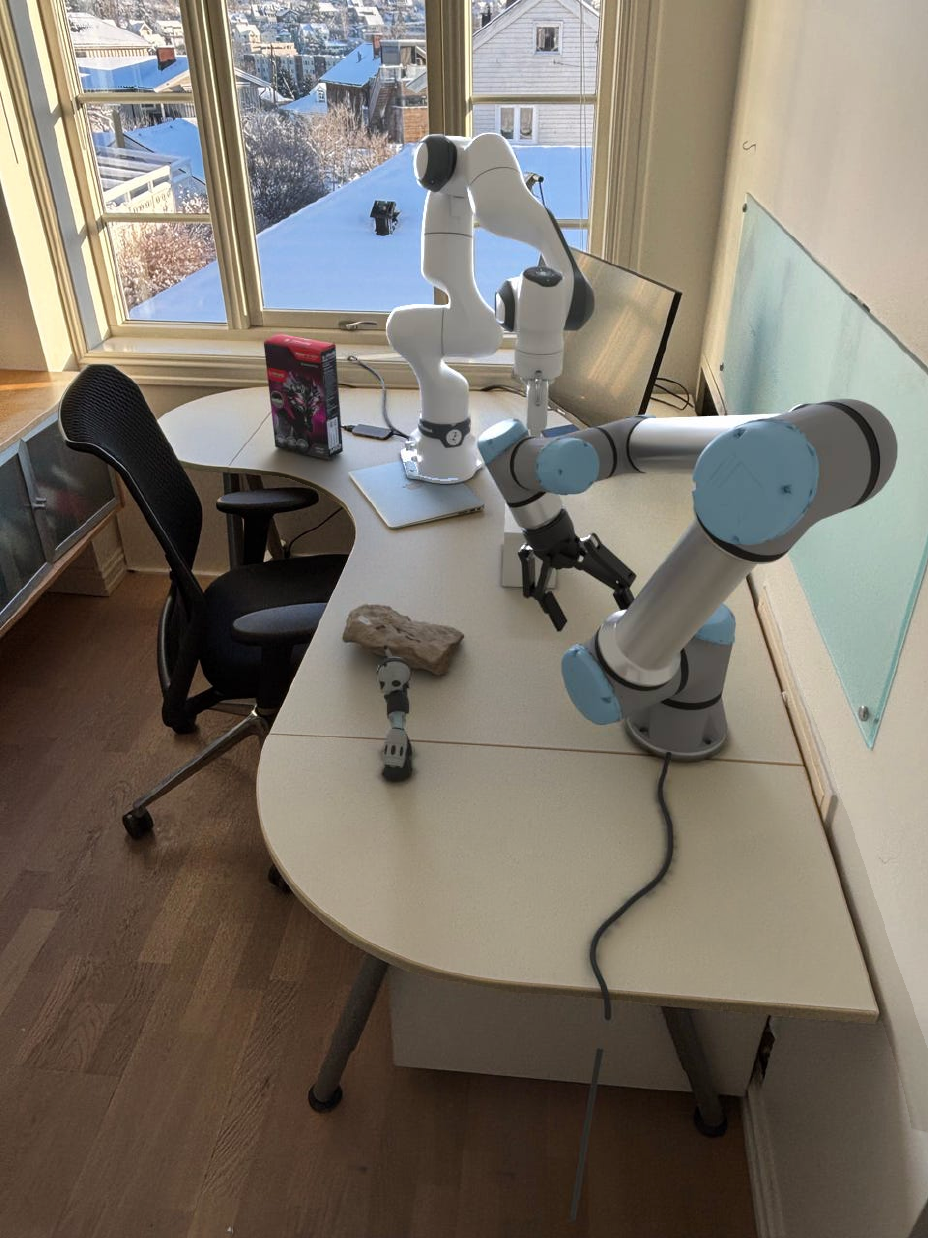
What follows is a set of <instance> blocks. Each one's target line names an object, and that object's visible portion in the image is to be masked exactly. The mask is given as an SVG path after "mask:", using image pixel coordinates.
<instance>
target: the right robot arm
mask: <svg viewBox="0 0 928 1238" xmlns="http://www.w3.org/2000/svg"><path fill="white" fill-rule="evenodd" d="M898 446H899V445H898V440H897V435H896V432H895V430H894V428H893V425H892V424H891V422H890V420H889V419H888V418H887V416H885V414H884V413H882V411H881V410H880V409H878V408H877V407H875V406H873V405H871V404H870V403H868V402H865V401H863V400H859V399H852V398H835V399H829V400H825V401H822V402H814V403H812V402H811V403H801V404H798V405H795V406H793V407H792V408H791V409H789V411H787V412H784V413H767V414H766V413H763V414H761V413H760V414H740V415H739V414H737V415H710V416H709V415H707V416H689V417H688V416H685V417H684V416H683V417H656V416H655V415H653V414H650V413H649V414H647V413H645V414H638V415H637V414H636V415H631V416H626V417H625V418H623V419H619V420H615V421H612V422H607V423H605V424H601V425H598V426H593V427H589V428H584V429H581V430H576V431H573V432H569V433H564V434H561V435H557V436H551V437H540V438H538V437H530V432H529V430H528V429H527V427H526V426H525V425H524V423H523V422H522V421H521V420H520V419H518V418H508V419H504V420H502V421H499V422H498V423H495V424H494V425H492V426H491V427H489V428H487V429H486V430H485V431H484V432H483V433H481V435H480V436H479V438H478V440H477V441H476V448H477V449H478V452H479V454H480V456H481V459H482V460H483V465H484V466H485V468H486V469H487V471H488V473H489V474H490V476H491V478H492V480H493V482H494V484H495V485H496V487H497V489H498V490H499V493H500V494H501V496H502V498H503V500H504V501H506V503H507V505H508V507H509V509H510V511H511V513H512V515H513V517H514V519H515V521H516V523H517V525H518V526H519V527H521V532H522V534H523V536H524V537H525V539H526V541H527V543H525V544H524V545H523V546H522V548H521V549H520V550H519V552H518V556H519V558H520V561H521V563H522V585H523V587H522V596H523V598H525V599H530V598H532V599H534V601H537V603H538V604H539V606H540V609H541V610H542V612H543V613H544V614H545V615H548V617H549V619H550V621H551V624H552V625H553V627H554V628H555V630H556V633H557V632H558V633H559V632H562V631H563V629H564V628H565V627H566V625H567V623H568V618H567V616H566V615H565V613H564V611H563V610H562V608H561V606H560V604H559V601H558V600H557V598H556V597H555V594H554V592H553V590H548V589H549V588H548V587H547V586H548V583H549V580H550V577H551V573H552V570H553V568H555V569H556V571H561V570H563V569H567V570H568V569H573V568H574V569H576V570H578V571H579V572H580V571H583V572H584V573H585V574H587V575H589V576H591V577H593V578H594V579H596V580H597V581H598V582H601V584H603V585H605V586H607V587H608V588H609V589H612V590H613V593H612V597H613V599H614V601H615V603H616V605H617V606H618V609H619V610H618V611H616V612H613V613H612V614H611V615H609V616H608V617H606V619H605V620H604V621H603V622H602V623H601V625H600V626H599V628H598V629H597V630H596V631H595V633H594V635H593V636H592V637H591V638H589V639H588V640H586V641H584V642H582V643H575V644H574V645H573V646H572V647H570V648H568V649H567V650H565V652H564V653H563V655H562V658H561V664H560V665H561V666H560V667H561V668H560V669H561V676H562V679H563V683H564V687H565V689H566V692H567V694H568V696H569V698H570V700H571V702H572V704H573V705H574V707H575V708H576V709H577V711H578V712H579V713H580V714H581V715H582V716H583V718H585V719H586V720H587V721H590V722H591V723H592V724H595V725H596V726H608V725H612V724H614V723H620V722H622V720H623V719H625V728H626V732H627V734H628V736H629V738H630V739H631V741H632V742H634V744H636V745H637V746H638V747H639V748H640V749H641V750H643V751H645V752H646V753H648V754H650V755H651V756H654V757H656V758H659V759H662V760H664V761H663V765H662V771H661V773H660V777H659V781H658V784H657V796H658V797H657V798H658V802H659V806H660V808H661V811H662V813H663V816H664V819H665V822H666V829H667V852H666V857H665V860H664V863H663V865H662V867H661V869H660V871H659V873H658V874H657V875H656V876H655V877H654V878H653V879H652V880H651V881H650V882H649V883H648V884H646V885H645V886H644V887H642V888H641V889H639V890H638V891H637V892H636V893H634V894H633V895H632V896H630V898H628V900H626V901H625V903H623V904H622V905H621V906H620V907H619V908H618V909H617V910H616V911H615V912H614V913H612V914H611V915H610V916H609V917H608V918H607V919H606V920H605V921H604V922H603V923H602V924H601V925H600V926H599V928H598V929H597V930H596V931H595V933H594V936H593V937H592V940H591V943H590V947H589V962H590V966H591V969H592V971H593V973H594V976H595V979H596V980H597V982H598V984H599V987H600V989H601V992H602V997H603V1004H604V1005H603V1006H604V1019H605V1020H606V1021H611V1019H612V1001H611V995H610V992H609V988H608V985H607V983H606V981H605V978H604V976H603V974H602V973H601V969H600V967H599V964H598V963H597V962H598V961H597V956H596V955H597V954H596V952H597V946H598V943H599V941H600V939H601V937H602V935H603V934H604V933H605V932H606V930H607V929H608V928H609V927H610V926H612V924H613V923H615V921H617V920H618V919H619V918H620V917H621V916H622V915H623V914H625V912H626V911H627V910H628V909H630V907H631V906H632V905H633V904H634V903H635V902H637V901H638V900H639V899H640V898H642V897H644V896H645V895H646V894H647V893H649V892H650V891H651V890H652V889H654V888H655V887H656V886H657V885H658V884H659V883H660V882H661V881H662V880H663V878H664V877H665V875H666V874H667V872H668V870H669V868H670V865H671V864H672V863H671V862H672V859H673V854H674V827H673V821H672V818H671V814H670V812H669V810H668V807H667V804H666V801H665V796H664V783H665V780H666V778H667V773H668V769H669V765H670V762H675V763H694V762H700V761H703V760H706V759H709V758H711V757H714V755H716V754H718V752H720V751H721V750H722V748H723V747H724V744H725V743H726V740H727V739H726V738H727V734H728V728H729V727H728V721H727V716H726V712H725V708H724V707H725V706H724V701H723V692H724V686H725V682H726V678H727V672H728V668H729V664H730V659H731V654H732V651H733V650H732V649H733V645H734V643H735V642H736V635H735V634H736V627H737V626H736V625H737V622H736V617H735V615H734V613H733V611H732V610H731V609H730V608H729V607H728V606H727V605H726V604H724V603H725V602H726V600H727V599H728V598H729V597H730V596H731V595H732V594H733V592H735V590H736V589H737V588H738V587H739V585H740V584H741V583H742V582H743V581H744V580H745V579H746V578H747V577H748V575H749V574H750V573H751V572H752V571H753V570H754V568H756V567H757V566H758V565H766V564H771V563H775V562H777V561H779V560H780V559H782V558H783V557H785V555H787V553H788V552H789V551H790V550H791V549H792V548H793V547H794V546H795V545H796V544H797V543H798V541H799V540H800V539H801V538H803V536H804V535H805V534H806V533H807V532H808V531H809V529H811V528H812V527H813V526H814V525H815V524H817V523H818V522H820V521H822V520H824V519H827V518H829V517H832V516H835V515H838V514H840V513H843V512H845V511H848V510H851V509H854V508H856V507H859V506H861V505H863V504H865V503H867V502H868V501H870V500H872V498H874V497H876V496H877V494H879V493H880V492H881V491H882V490H883V489H884V487H885V486H886V485H887V483H888V482H889V480H890V479H891V477H892V475H893V473H894V470H895V468H896V465H897V460H898V448H899V447H898ZM625 474H656V475H657V474H658V475H659V474H661V475H684V476H692V482H694V483H695V488H693V489H692V490H691V496H692V497H691V498H692V501H693V502H692V509H693V515H694V518H693V519H692V521H691V523H690V524H689V525H688V526H687V528H686V529H685V531H684V532H683V534H681V536H680V537H679V539H678V540H677V541H676V543H675V544H674V545H673V547H672V548H671V549H670V550H669V552H668V553H667V554H666V556H665V557H664V559H663V560H662V562H661V563H660V564H659V565H658V567H657V568H656V570H655V571H654V573H653V574H652V575H651V577H650V578H649V579H648V581H647V582H646V583H645V585H644V586H643V587H642V589H641V590H640V591H639V592H638V594H637V596H636V597H635V596H634V594H633V592H632V590H631V587H632V586H633V584H634V583H635V580H636V579H637V574H636V573H635V572H634V571H633V570H632V569H631V568H630V567H629V566H628V565H627V564H626V563H624V562H623V560H621V559H620V558H619V557H617V555H615V554H614V553H613V552H612V551H611V550H610V549H609V548H608V547H607V546H606V545H604V544H603V542H602V540H600V537H599V536H598V534H597V533H596V532H593V531H592V532H590V533H589V535H588V536H586V537H582V538H580V537H579V536H578V535H577V533H576V532H575V526H574V522H573V520H572V519H571V517H570V514H569V512H568V511H567V509H566V507H565V506H564V505H563V504H564V503H563V501H562V499H561V497H560V496H568V495H579V494H583V493H585V492H587V491H588V490H589V489H590V488H591V486H592V485H593V484H595V483H597V482H600V481H603V480H608V479H610V478H613V477H617V476H621V475H625ZM535 556H536V557H538V558H539V559H540V560H542V561H543V563H542V567H541V570H540V572H541V573H540V576H539V579H538V583H537V586H536V577H535ZM581 557H582V558H583V559H582V560H581V561H579V560H580V558H581ZM547 590H548V591H547ZM603 1055H604V1049H602V1048H598V1047H597V1048H596V1052H595V1057H594V1065H593V1068H592V1075H591V1080H590V1081H591V1082H590V1088H589V1094H588V1100H587V1107H586V1110H585V1111H586V1112H585V1119H584V1124H583V1131H582V1138H581V1145H580V1151H579V1157H578V1158H579V1159H578V1164H577V1170H576V1178H575V1184H574V1191H573V1197H572V1202H571V1203H572V1204H571V1210H570V1216H569V1220H570V1221H571V1222H575V1221H576V1220H577V1219H576V1218H577V1212H578V1205H579V1200H580V1193H581V1189H582V1188H581V1187H582V1182H583V1181H582V1179H583V1175H584V1169H585V1163H586V1162H585V1161H586V1156H587V1149H588V1143H589V1136H590V1131H591V1125H592V1120H593V1119H592V1118H593V1112H594V1107H595V1099H596V1094H597V1089H598V1083H599V1077H600V1072H601V1066H602V1060H603Z"/></svg>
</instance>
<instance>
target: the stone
mask: <svg viewBox="0 0 928 1238" xmlns="http://www.w3.org/2000/svg"><path fill="white" fill-rule="evenodd" d="M464 638H465V634H464V633H463V632H461V630H458V629H456V628H455V627H452V626H449V625H442V624H435V623H430V622H427V621H420V620H412V619H411V618H410V617H409V616H408V615H403V614H400V613H399V612H398V611H396V610H394V609H392V606H390V605H383V604H380V603H379V604H368V603H364V604H362V605H359V606H357V607H356V608H354V609H352V610H350V612H349V613H348V614H347V618H346V625H345V627H344V630H343V633H342V638H341V639H342V642H343V643H345V644H347V643H354V644H357V645H359V646H360V647H361V648H362V650H364V651H366V652H370V653H374V654H375V655H379V656H384V657H387V655H386V652H385V650H384V645H386V646H387V647H388V649H389V651H390V653H391V654H392V656H393V657H400V658H402V659H404V660H406V661H407V662H408V663H409V664H410V666H411V668H412V669H413V668H414V669H420V670H426V671H428V672H430V673H431V674H433V675H436V676H439V677H440V676H443V675H445V674H446V673H447V672H448V670H449V668H450V667H451V664H452V658H453V656H454V655H455V654H456V651H458V648H459V646H460V644H461V642H462V641H463V639H464Z"/></svg>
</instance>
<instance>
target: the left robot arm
mask: <svg viewBox="0 0 928 1238" xmlns="http://www.w3.org/2000/svg"><path fill="white" fill-rule="evenodd" d="M413 173H414V177H415V180H416V182H417V184H418V185H419V186H420V188H422V189H424V190H426V191H428V192H427V194H426V195H427V196H426V199H425V204H424V210H423V219H422V229H421V261H420V262H421V263H420V265H421V266H420V267H421V268H420V270H421V275H422V276H423V278H424V279H425V281H426V282H427V283H429V284H430V285H432V286H433V287H435V288H436V289H439V290H440V291H442V292H444V293H445V294H446V295H447V296H448V304H443V305H441V304H439V305H438V304H418V303H417V304H410V305H404V306H399V307H396V308H394V309H393V311H392V312H391V313H390V314H389V316H388V318H387V321H386V325H385V335H386V339H387V342H388V345H389V346H390V347H391V349H392V350H393V351H394V352H395V353H396V354H398V355H399V356H400V357H402V359H404V361H406V363H407V364H408V365H409V366H410V368H411V369H412V371H413V373H414V375H415V377H416V380H417V384H418V388H419V398H420V399H419V400H420V411H419V412H420V414H419V418H418V420H417V428H416V429H414V430H413V431H412V432H411V433H410V434H409V435H407V434H406V433H404V432H402V431H401V430H399V429H397V428H396V427H395V426H394V425H393V424H392V422H391V421H390V419H389V417H388V416H387V412H386V383H385V381H384V379H383V377H382V376H381V374H379V372H377V371H376V369H374V368H372V367H371V366H369V365H368V364H367V363H365V362H363V361H362V360H361V359H359V358H358V357H356V356H355V355H352V354H349V355H348V356H347V357H346V360H350V359H354V360H355V359H359V361H357V362H358V363H359V364H360V365H361V366H363V367H365V368H366V369H368V370H369V371H371V372H373V373H374V375H376V376H377V377H378V379H379V381H380V382H381V385H382V401H381V402H382V403H381V407H382V414H383V417H384V420H385V421H386V423H387V425H388V426H389V428H390V429H391V430H392V431H394V432H396V433H397V434H399V435H400V436H402V437H404V438H406V439H409V441H405V443H404V449H401V450H400V457H401V461H402V464H403V468H404V470H405V474H406V476H407V478H408V479H411V480H420V481H424V482H428V483H433V484H439V485H440V484H441V485H448V484H451V485H452V484H458V483H463V482H465V481H468V480H469V479H472V477H474V476H475V473H476V472H477V471H478V470H480V469H481V468H483V462H482V461H481V460H479V459H478V458H477V439H476V435H475V434H473V432H471V426H472V419H471V414H470V385H469V383H468V381H467V379H466V378H465V377H464V376H463V375H462V374H461V373H460V372H458V371H456V370H455V369H452V368H451V367H449V366H448V365H447V364H446V363H445V361H444V358H448V359H449V358H450V359H479V358H485V357H491V356H493V355H494V354H496V353H497V351H499V349H500V347H501V345H502V343H503V339H504V332H505V331H506V332H508V333H514V334H516V340H515V344H514V358H513V359H514V360H513V361H514V362H513V372H514V374H515V375H517V376H518V377H520V378H519V381H520V382H521V383H522V384H523V385H524V386H525V424H526V426H525V427H526V429H527V430H528V431H529V436H530V437H538V438H541V437H542V431H545V430H546V429H547V426H548V415H549V414H548V410H549V386H551V385H553V384H554V383H555V380H556V378H558V377H560V376H562V373H563V362H564V350H565V349H564V348H565V344H564V339H563V333H564V332H563V331H570V332H571V331H572V332H573V331H574V332H576V331H579V330H580V329H581V328H583V327H584V326H585V325H586V324H587V323H588V322H589V320H590V319H591V317H592V316H593V314H594V311H595V307H596V305H595V302H596V301H595V294H594V290H593V287H592V285H591V283H590V281H589V280H588V278H587V277H586V275H585V274H584V273H583V272H582V270H581V268H580V267H579V265H578V263H577V261H576V259H575V256H574V254H573V252H572V250H571V248H570V246H569V244H568V241H567V240H566V237H565V236H564V233H563V231H562V229H561V227H560V225H559V223H558V221H557V219H556V217H555V216H554V213H553V212H552V210H551V209H550V208H549V207H547V206H546V205H545V204H544V203H541V202H540V201H539V200H538V199H537V198H536V197H535V196H534V195H533V193H532V192H531V191H530V189H529V188H528V186H527V184H526V182H525V179H524V176H523V172H522V170H521V166H520V162H519V159H518V156H517V153H516V151H515V150H514V149H513V148H512V146H511V145H510V142H509V141H508V140H507V139H506V138H505V137H504V136H502V134H499V133H496V132H484V133H481V134H478V135H477V136H475V137H473V136H468V137H465V136H457V135H456V136H455V135H445V134H443V133H436V134H435V133H434V134H428V135H425V136H424V137H423V138H422V139H421V140H420V141H419V142H418V144H417V146H416V149H415V152H414V158H413ZM474 219H475V220H476V222H477V224H478V225H479V227H481V228H482V229H483V231H486V232H487V233H489V234H491V235H492V236H495V237H498V238H503V239H506V240H511V241H516V242H519V243H523V244H525V245H527V246H530V247H532V248H534V249H535V250H536V251H538V252H539V254H540V255H541V257H542V259H543V261H544V263H545V265H546V266H545V265H536V266H535V265H534V266H530V267H527V268H525V269H524V270H523V271H522V272H521V273H520V275H519V276H517V277H512V278H509V279H505V280H504V281H503V282H502V283H500V285H499V286H498V288H497V289H496V291H495V293H494V309H493V308H492V307H491V306H490V305H489V304H488V303H487V302H486V301H485V299H484V298H483V296H482V294H481V293H480V290H479V289H478V286H477V282H476V279H475V274H474V273H475V272H474ZM504 330H505V331H504ZM351 357H352V358H351ZM407 461H411V462H414V464H415V466H416V469H417V474H418V475H422V476H427V477H431V478H438V479H448V478H458V480H451V481H440V480H432V479H428V478H424V477H420V476H411V475H409V474H408V473H407V470H406V466H405V463H404V462H407ZM409 472H415V470H409Z"/></svg>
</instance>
